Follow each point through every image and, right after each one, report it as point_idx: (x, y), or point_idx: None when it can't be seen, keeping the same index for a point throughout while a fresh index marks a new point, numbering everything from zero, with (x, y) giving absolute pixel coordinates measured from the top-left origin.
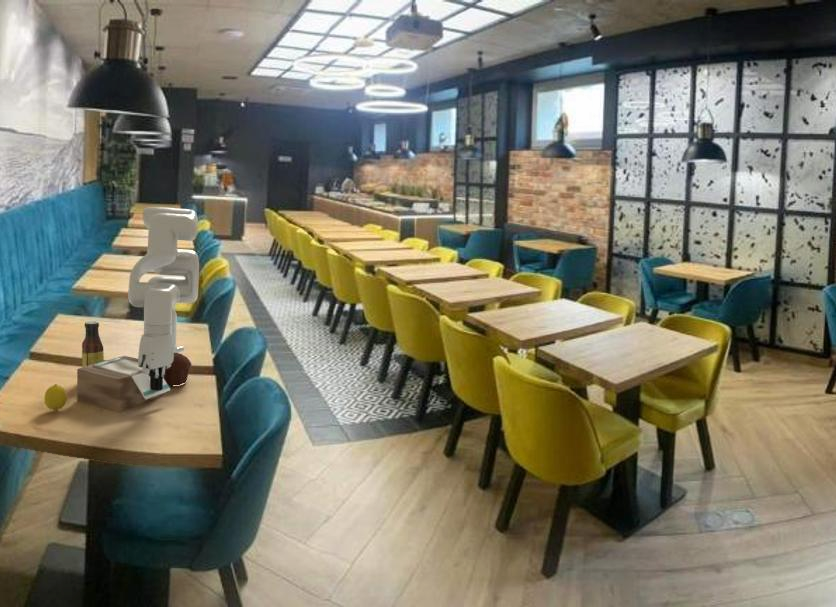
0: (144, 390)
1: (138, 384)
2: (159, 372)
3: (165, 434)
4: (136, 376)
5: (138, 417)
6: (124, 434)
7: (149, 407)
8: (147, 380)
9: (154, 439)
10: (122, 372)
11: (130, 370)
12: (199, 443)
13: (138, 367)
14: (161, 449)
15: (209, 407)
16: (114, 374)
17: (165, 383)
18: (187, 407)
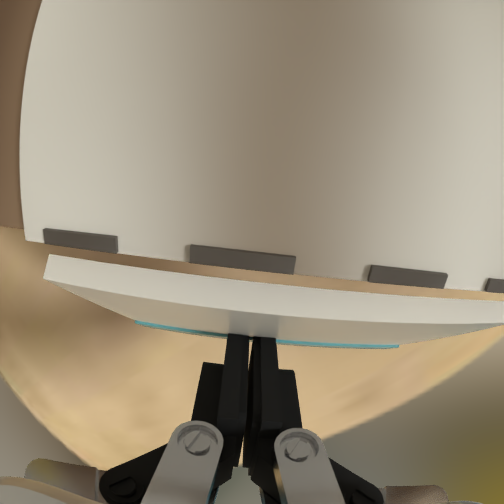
0: (158, 323)
1: (112, 308)
2: (273, 490)
3: (89, 411)
4: (103, 296)
5: None
6: (14, 325)
7: None
8: (248, 327)
9: (55, 399)
10: (28, 70)
11: (174, 76)
12: (116, 464)
13: (442, 97)
14: (46, 420)
15: (352, 423)
16: (2, 30)
17: (393, 343)
18: (326, 381)
